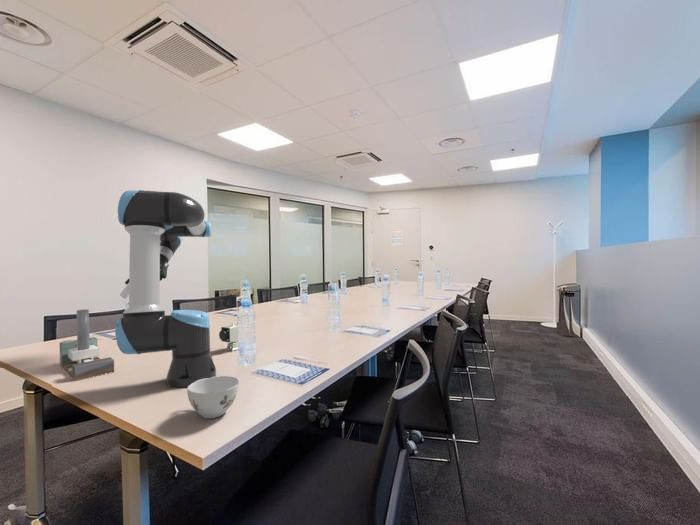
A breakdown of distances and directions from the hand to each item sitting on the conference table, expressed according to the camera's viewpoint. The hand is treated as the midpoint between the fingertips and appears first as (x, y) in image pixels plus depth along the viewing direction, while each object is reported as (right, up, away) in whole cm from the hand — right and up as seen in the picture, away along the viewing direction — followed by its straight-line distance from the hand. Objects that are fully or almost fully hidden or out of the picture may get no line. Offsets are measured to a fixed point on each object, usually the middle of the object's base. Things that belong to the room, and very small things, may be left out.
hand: (135, 294), depth 132 cm
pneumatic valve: (+34, -27, +14) cm, 46 cm away
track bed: (-13, -28, -9) cm, 32 cm away
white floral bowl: (+51, -27, -46) cm, 74 cm away
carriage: (-16, -25, -6) cm, 31 cm away
